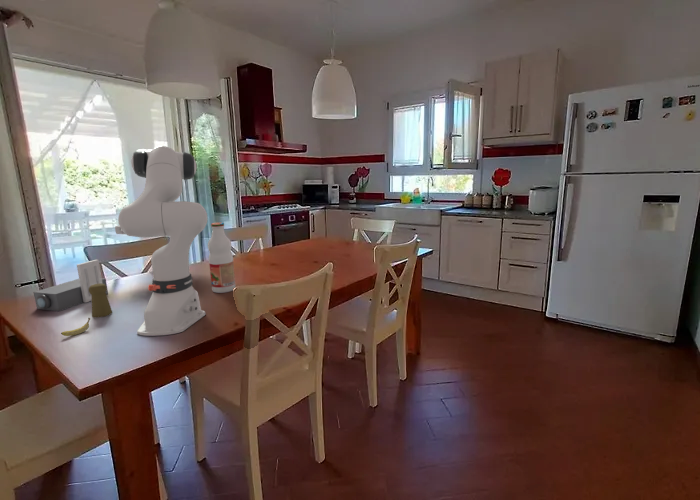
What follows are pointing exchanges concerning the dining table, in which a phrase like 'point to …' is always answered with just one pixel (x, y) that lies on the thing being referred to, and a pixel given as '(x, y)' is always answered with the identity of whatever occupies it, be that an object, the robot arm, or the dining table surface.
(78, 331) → the banana
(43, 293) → the camera block
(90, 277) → the cover
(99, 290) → the cork
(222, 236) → the fruit juice
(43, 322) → the dining table surface
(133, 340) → the dining table surface
